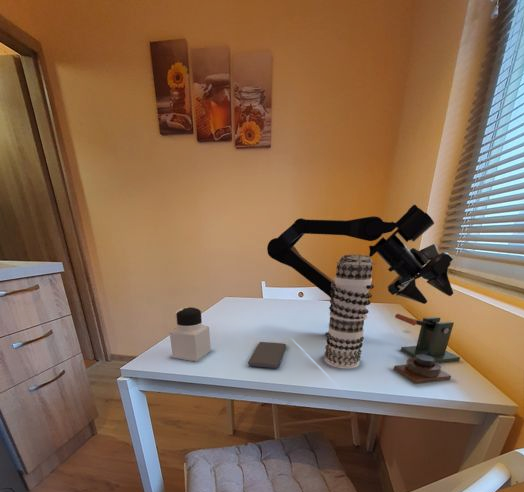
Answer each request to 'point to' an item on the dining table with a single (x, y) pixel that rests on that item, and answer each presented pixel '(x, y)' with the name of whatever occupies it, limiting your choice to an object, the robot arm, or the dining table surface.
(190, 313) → the medicine bottle
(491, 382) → the dining table surface
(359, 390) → the dining table surface
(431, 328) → the lever
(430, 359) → the button
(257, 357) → the smartphone
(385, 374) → the dining table surface
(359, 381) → the dining table surface
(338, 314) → the decorative candle
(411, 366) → the button block
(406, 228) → the robot arm
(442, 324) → the bracket
